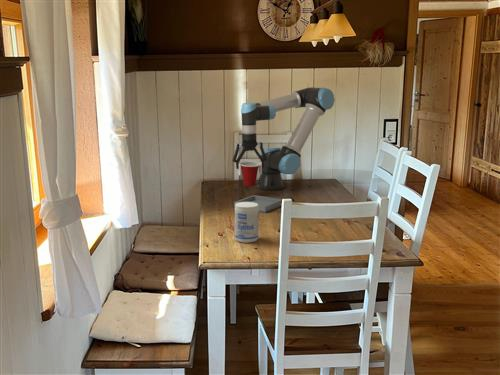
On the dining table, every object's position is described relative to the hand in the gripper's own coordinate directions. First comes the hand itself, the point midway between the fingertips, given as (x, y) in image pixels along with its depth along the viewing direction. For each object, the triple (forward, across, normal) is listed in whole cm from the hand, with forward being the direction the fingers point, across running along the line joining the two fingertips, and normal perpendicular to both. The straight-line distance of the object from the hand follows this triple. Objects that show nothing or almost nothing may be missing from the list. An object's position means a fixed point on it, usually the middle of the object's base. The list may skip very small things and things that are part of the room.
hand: (250, 174), depth 286 cm
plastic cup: (+6, 0, 0) cm, 6 cm away
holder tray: (+12, 0, +21) cm, 24 cm away
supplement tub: (+12, +17, +72) cm, 75 cm away
